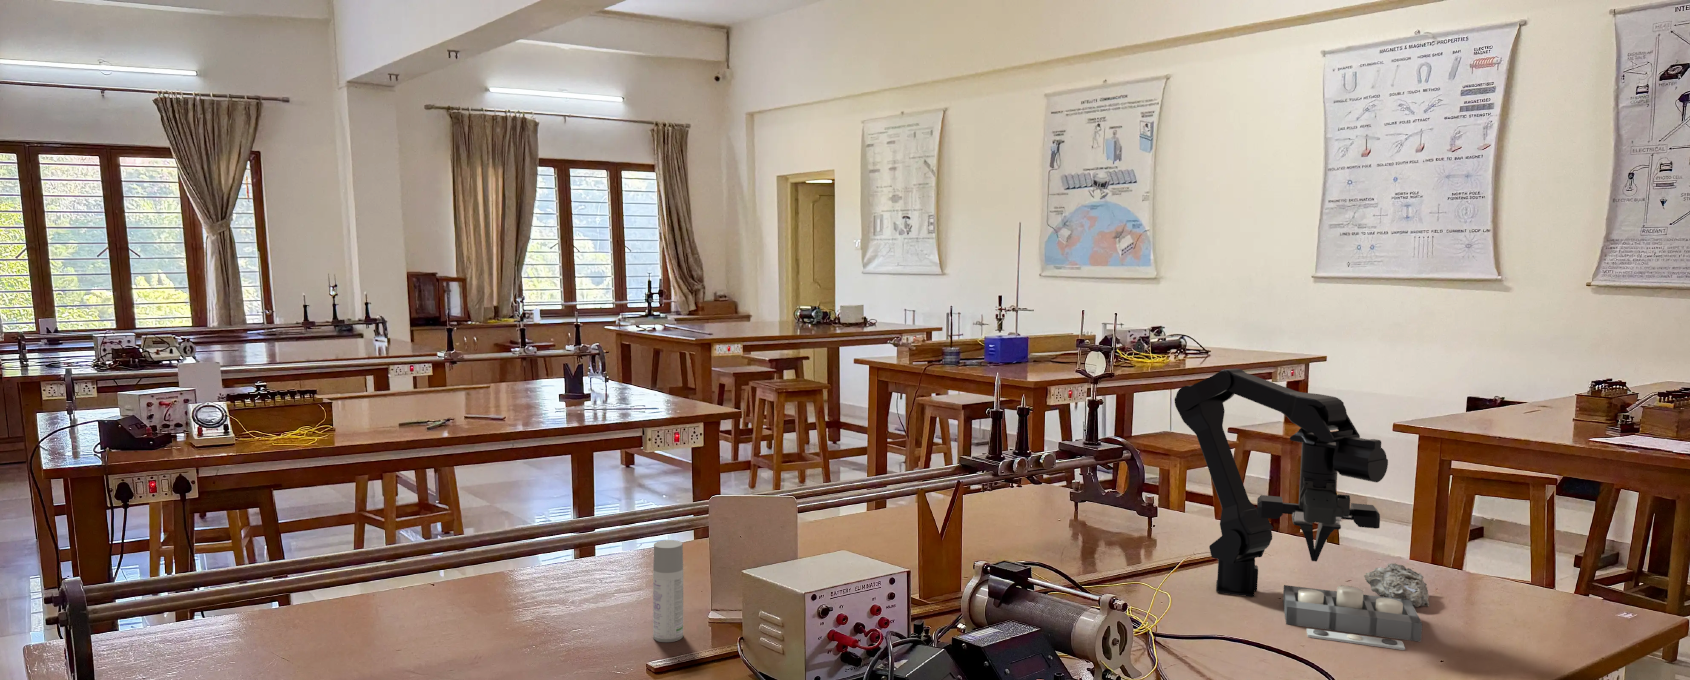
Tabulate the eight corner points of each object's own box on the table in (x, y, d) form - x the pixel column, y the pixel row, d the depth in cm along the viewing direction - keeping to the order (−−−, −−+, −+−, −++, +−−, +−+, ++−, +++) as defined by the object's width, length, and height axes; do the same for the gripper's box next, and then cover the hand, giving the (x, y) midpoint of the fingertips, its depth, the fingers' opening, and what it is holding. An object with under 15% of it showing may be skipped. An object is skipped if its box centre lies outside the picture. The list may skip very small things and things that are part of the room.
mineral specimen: (1424, 596, 190) (1441, 613, 179) (1359, 591, 193) (1373, 608, 182) (1424, 564, 190) (1442, 579, 179) (1360, 560, 193) (1373, 575, 182)
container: (647, 639, 161) (647, 546, 160) (662, 629, 166) (662, 538, 164) (673, 644, 160) (673, 549, 158) (688, 633, 164) (688, 541, 163)
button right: (1376, 625, 172) (1377, 604, 171) (1373, 617, 176) (1374, 596, 175) (1403, 628, 170) (1404, 607, 170) (1399, 620, 174) (1401, 599, 174)
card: (1307, 636, 167) (1308, 633, 167) (1306, 630, 170) (1306, 627, 170) (1404, 650, 162) (1405, 646, 162) (1401, 643, 165) (1402, 639, 165)
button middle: (1337, 612, 174) (1338, 591, 173) (1334, 604, 177) (1336, 584, 177) (1363, 615, 172) (1364, 594, 172) (1360, 607, 176) (1361, 587, 176)
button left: (1297, 615, 176) (1299, 594, 176) (1296, 607, 180) (1297, 587, 179) (1323, 618, 175) (1324, 597, 174) (1321, 610, 178) (1322, 590, 178)
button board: (1286, 623, 173) (1287, 606, 173) (1282, 601, 184) (1283, 584, 184) (1420, 641, 166) (1422, 623, 166) (1408, 617, 177) (1410, 600, 177)
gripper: (1260, 475, 171) (1256, 567, 172) (1387, 485, 164) (1381, 581, 165) (1259, 462, 181) (1254, 549, 182) (1377, 472, 174) (1372, 562, 176)
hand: (1313, 560), depth 176 cm, fingers closed
